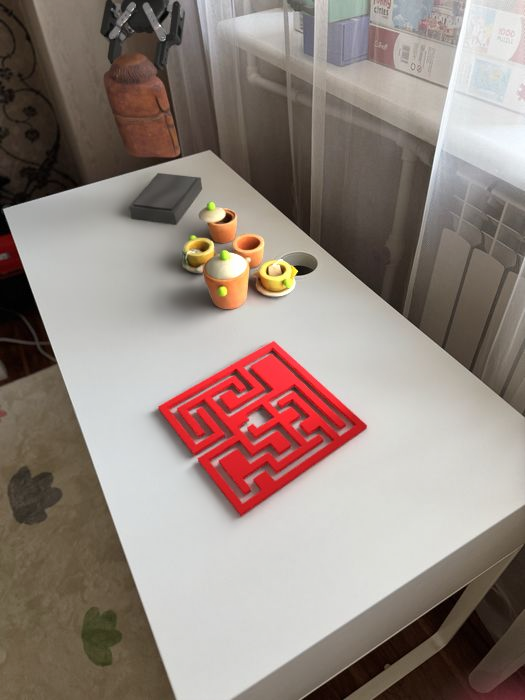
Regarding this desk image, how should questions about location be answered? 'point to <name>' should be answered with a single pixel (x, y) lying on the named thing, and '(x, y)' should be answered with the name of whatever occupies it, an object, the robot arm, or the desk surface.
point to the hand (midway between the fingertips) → (136, 66)
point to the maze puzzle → (235, 461)
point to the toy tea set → (234, 261)
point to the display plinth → (166, 198)
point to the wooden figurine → (141, 107)
